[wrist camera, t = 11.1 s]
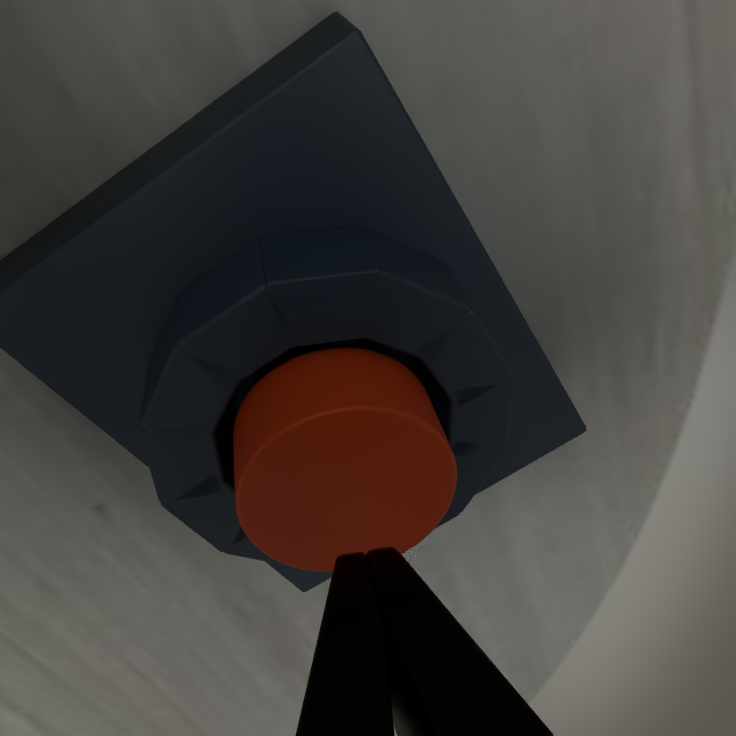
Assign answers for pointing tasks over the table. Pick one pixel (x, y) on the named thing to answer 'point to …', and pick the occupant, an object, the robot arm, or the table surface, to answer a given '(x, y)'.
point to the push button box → (278, 285)
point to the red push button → (339, 459)
